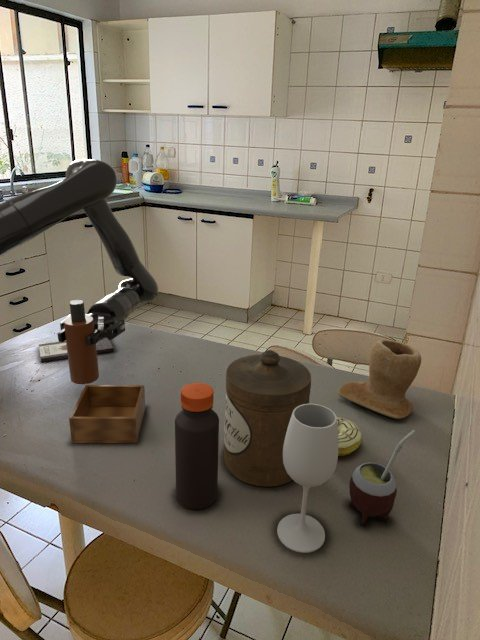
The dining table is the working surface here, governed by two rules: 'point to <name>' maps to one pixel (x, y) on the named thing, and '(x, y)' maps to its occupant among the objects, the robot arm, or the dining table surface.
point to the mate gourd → (374, 488)
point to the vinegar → (196, 447)
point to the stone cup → (386, 380)
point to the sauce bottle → (80, 345)
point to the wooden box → (108, 414)
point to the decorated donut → (347, 436)
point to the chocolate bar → (60, 349)
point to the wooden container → (261, 415)
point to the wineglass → (308, 470)
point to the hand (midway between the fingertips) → (74, 340)
